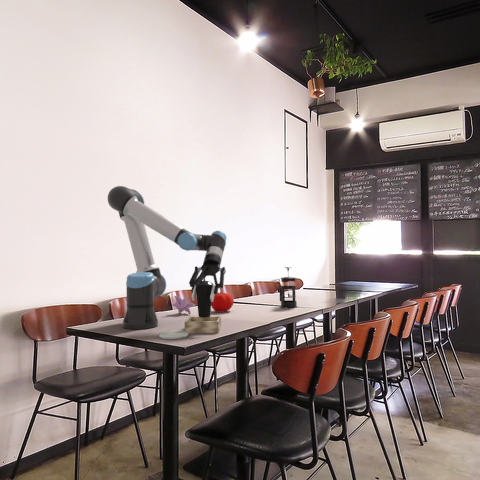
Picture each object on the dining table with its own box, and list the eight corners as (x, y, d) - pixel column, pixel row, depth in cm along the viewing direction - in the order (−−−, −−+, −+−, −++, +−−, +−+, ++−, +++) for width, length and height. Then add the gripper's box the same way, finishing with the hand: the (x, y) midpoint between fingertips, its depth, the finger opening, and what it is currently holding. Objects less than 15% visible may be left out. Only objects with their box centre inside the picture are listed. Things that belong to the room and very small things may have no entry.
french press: (301, 307, 238) (300, 267, 238) (290, 308, 232) (289, 267, 232) (286, 305, 247) (285, 266, 247) (275, 306, 241) (274, 267, 241)
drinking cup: (204, 314, 177) (204, 267, 178) (217, 316, 173) (217, 268, 173) (191, 316, 172) (191, 268, 172) (204, 318, 167) (204, 268, 167)
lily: (197, 316, 214) (199, 299, 219) (181, 310, 207) (182, 292, 212) (182, 322, 221) (183, 305, 226) (165, 315, 213) (167, 298, 218)
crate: (184, 333, 165) (184, 321, 165) (189, 327, 179) (189, 316, 179) (218, 332, 165) (218, 321, 165) (221, 326, 179) (220, 316, 179)
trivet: (156, 339, 154) (156, 336, 154) (162, 333, 165) (162, 330, 165) (185, 339, 154) (185, 335, 154) (190, 333, 165) (190, 330, 165)
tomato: (212, 310, 231) (212, 291, 231) (234, 309, 231) (234, 290, 231) (209, 313, 218) (209, 293, 218) (232, 313, 217) (232, 293, 218)
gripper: (236, 264, 186) (227, 305, 169) (193, 264, 190) (180, 304, 173) (233, 253, 181) (224, 294, 164) (189, 252, 185) (176, 292, 168)
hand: (202, 299), depth 169 cm, fingers closed on drinking cup, 7 cm apart
